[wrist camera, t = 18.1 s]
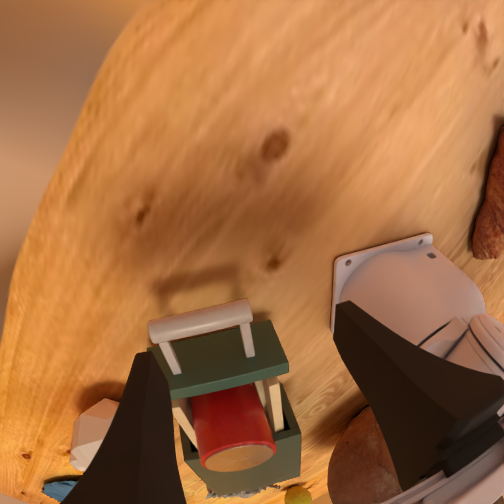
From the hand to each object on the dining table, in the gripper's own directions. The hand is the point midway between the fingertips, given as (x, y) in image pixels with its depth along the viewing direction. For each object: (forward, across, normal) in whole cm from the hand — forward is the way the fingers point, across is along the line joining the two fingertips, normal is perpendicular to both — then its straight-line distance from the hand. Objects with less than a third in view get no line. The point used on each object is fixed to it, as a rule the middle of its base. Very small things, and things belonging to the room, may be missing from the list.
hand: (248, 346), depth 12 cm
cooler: (+9, +2, +25) cm, 27 cm away
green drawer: (+9, +2, +12) cm, 15 cm away
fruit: (+10, -4, +62) cm, 63 cm away
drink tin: (+7, +2, +13) cm, 15 cm away
